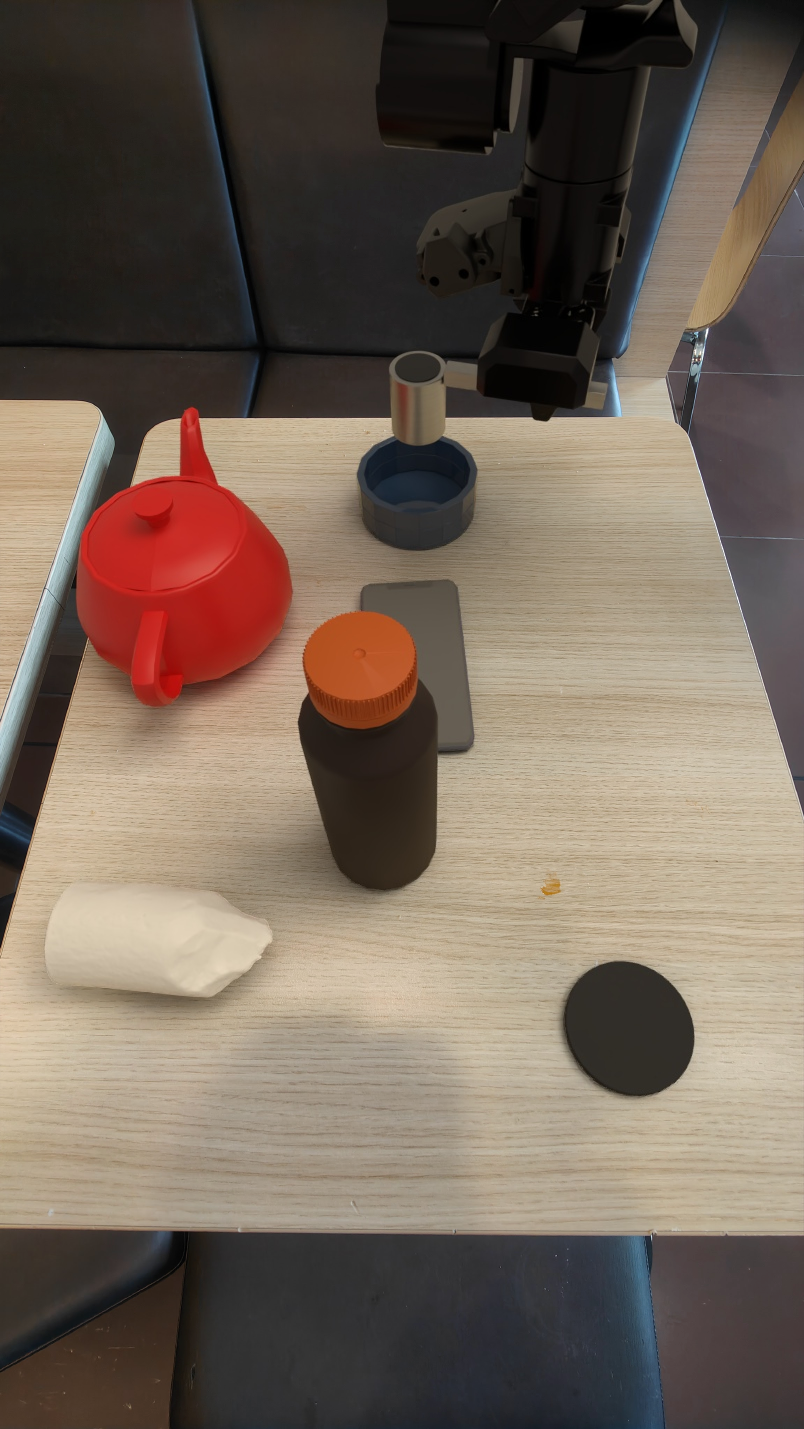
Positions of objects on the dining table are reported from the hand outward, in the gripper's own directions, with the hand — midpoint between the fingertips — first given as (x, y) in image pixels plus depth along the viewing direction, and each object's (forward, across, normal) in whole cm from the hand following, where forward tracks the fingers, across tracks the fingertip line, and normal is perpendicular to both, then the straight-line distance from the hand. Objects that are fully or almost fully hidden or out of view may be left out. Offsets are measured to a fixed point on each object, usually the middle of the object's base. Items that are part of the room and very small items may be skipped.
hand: (542, 412), depth 55 cm
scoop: (+3, 0, -3) cm, 5 cm away
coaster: (+12, +36, +13) cm, 40 cm away
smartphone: (+12, +15, -5) cm, 20 cm away
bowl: (+12, -1, -9) cm, 15 cm away
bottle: (+12, +29, -4) cm, 32 cm away
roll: (+12, +39, -13) cm, 43 cm away
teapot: (+12, +14, -23) cm, 29 cm away
